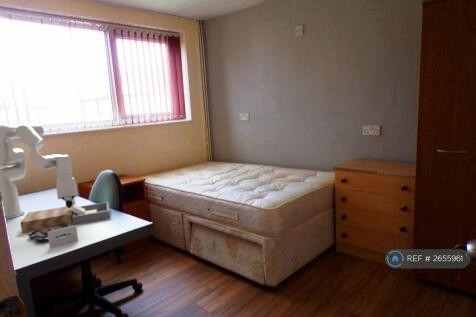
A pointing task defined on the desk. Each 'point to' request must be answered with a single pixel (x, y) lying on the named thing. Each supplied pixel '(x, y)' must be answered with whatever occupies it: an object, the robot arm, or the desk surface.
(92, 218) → the bin
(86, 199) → the desk surface
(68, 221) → the wooden block
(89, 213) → the tile sage
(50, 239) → the cassette
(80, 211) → the tile cream
